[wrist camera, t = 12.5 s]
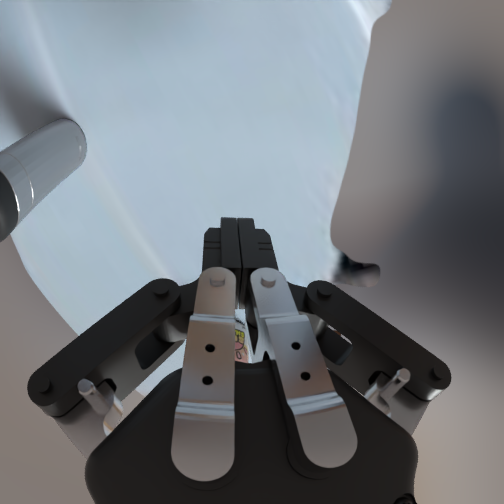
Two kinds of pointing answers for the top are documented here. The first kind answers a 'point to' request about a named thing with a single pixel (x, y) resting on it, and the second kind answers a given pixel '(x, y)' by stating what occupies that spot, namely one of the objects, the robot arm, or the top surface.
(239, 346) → the beverage can
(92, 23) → the top surface
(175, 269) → the top surface
